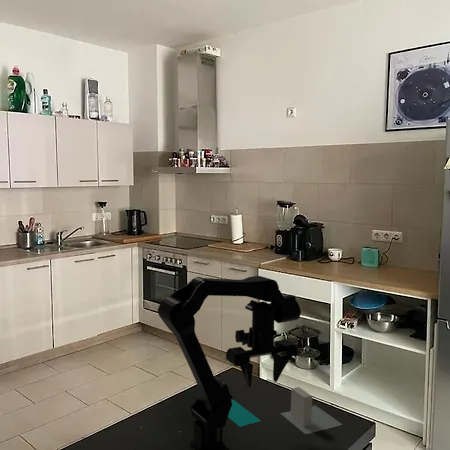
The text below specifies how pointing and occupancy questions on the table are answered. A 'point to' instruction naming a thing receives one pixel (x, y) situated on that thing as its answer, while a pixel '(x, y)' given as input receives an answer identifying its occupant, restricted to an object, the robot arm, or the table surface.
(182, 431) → the table surface
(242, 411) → the flat teal tile
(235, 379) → the table surface
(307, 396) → the box
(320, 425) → the mat
